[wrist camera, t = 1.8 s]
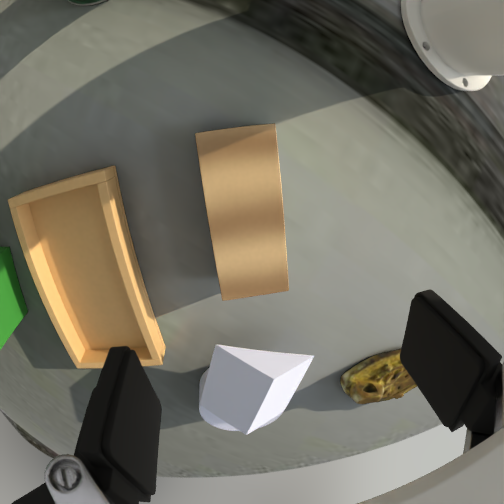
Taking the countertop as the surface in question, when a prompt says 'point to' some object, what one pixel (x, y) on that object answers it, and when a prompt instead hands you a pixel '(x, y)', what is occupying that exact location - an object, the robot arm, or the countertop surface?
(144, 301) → the holder
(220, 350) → the wedge on round base
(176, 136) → the countertop surface
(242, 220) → the eraser
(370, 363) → the yellow-brown textured oval
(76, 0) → the canned tomato
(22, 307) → the hardback book
